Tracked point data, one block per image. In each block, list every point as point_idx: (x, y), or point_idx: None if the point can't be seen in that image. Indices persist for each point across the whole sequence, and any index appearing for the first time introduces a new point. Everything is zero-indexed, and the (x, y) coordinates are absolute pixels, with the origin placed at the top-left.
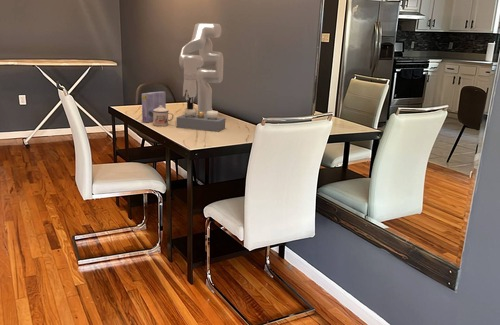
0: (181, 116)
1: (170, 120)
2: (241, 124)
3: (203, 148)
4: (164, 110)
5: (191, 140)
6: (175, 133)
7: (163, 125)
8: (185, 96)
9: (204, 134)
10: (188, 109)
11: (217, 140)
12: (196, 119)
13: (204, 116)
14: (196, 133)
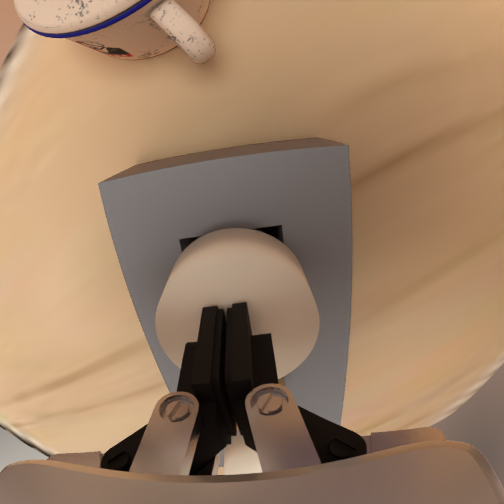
0: (180, 194)
1: (183, 51)
2: (437, 400)
3: (3, 424)
4: (47, 19)
5: (10, 382)
6: (13, 275)
7: (106, 54)
8: (137, 484)
9: (113, 396)
10: (192, 331)
11: (85, 444)
12: (162, 375)
13: (330, 364)
14: (96, 363)
